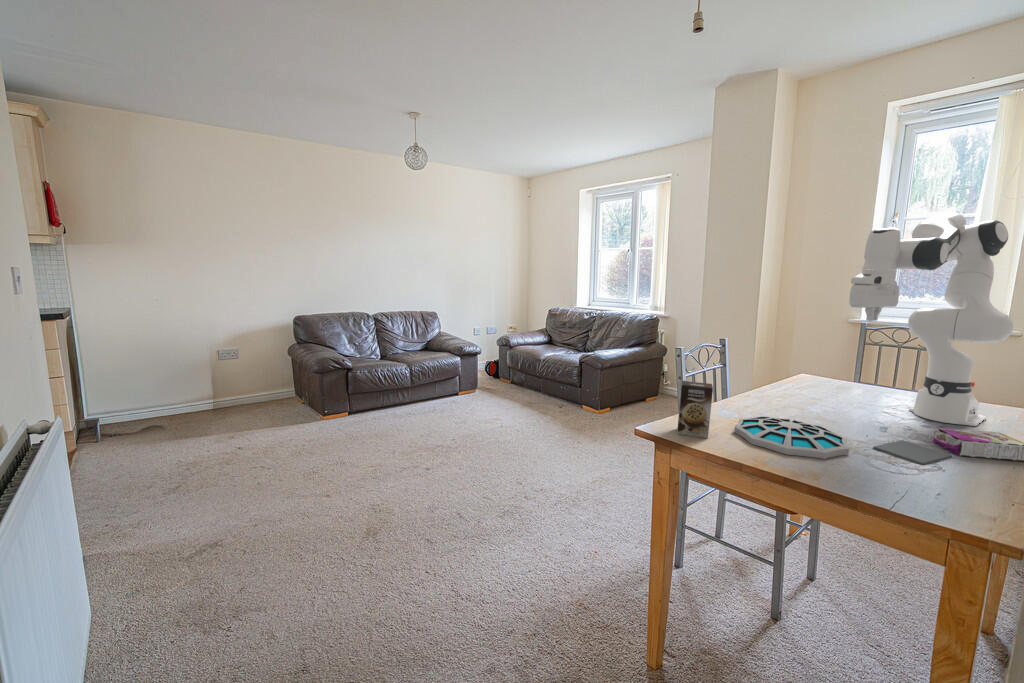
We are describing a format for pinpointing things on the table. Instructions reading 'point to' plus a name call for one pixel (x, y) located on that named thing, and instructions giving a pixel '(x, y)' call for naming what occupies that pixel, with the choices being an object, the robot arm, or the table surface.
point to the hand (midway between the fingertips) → (871, 320)
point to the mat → (912, 452)
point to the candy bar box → (980, 444)
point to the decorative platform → (792, 437)
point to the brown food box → (695, 409)
